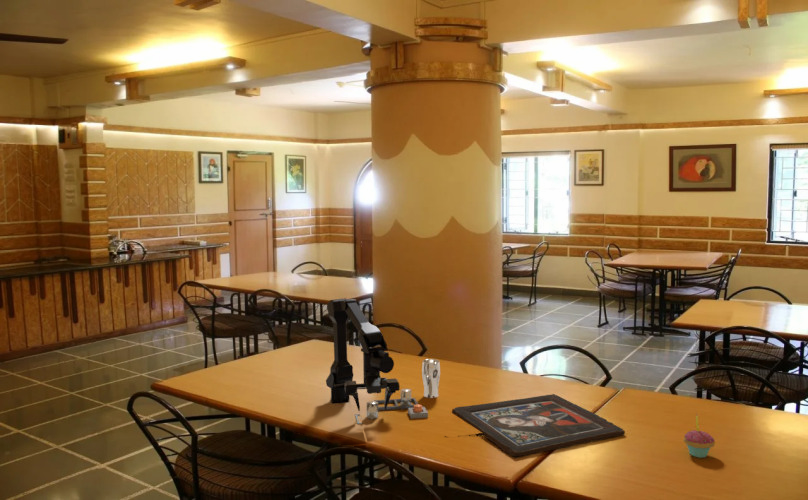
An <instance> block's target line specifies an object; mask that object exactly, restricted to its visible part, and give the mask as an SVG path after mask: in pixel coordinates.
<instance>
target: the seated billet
mask: <svg viewBox="0 0 808 500" xmlns="http://www.w3.org/2000/svg"><path fill="white" fill-rule="evenodd" d="M411 398H412V389H410V388H402V389H400V399H401V402H400V405H412V402H411Z"/></svg>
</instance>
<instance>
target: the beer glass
mask: <svg viewBox="0 0 808 500" xmlns="http://www.w3.org/2000/svg"><path fill="white" fill-rule="evenodd" d="M421 376H422V378H421V379H422V382H423V388H424V389H423V396H424V398H427V399H434V398H438V397H439V396H440V395H439V383H440V379H441V365H440V360H439V359H436V358H426V359H423V360H422V366H421Z"/></svg>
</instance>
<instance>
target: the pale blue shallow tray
mask: <svg viewBox="0 0 808 500" xmlns="http://www.w3.org/2000/svg"><path fill="white" fill-rule="evenodd" d="M354 414H355V413H354ZM354 416H355V419H356V420H355V421H356V423H357V425H363V424H364V423H363V422H360V421H359V418H358V416H361V414H360V413H356V414H355V415H354Z"/></svg>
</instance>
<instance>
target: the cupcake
mask: <svg viewBox="0 0 808 500" xmlns="http://www.w3.org/2000/svg"><path fill="white" fill-rule="evenodd" d="M695 414H696V416H695V428H696V429H694V430H690V431H687V432H686V433H685V434H684V435H683V436H684V438H683V442H684V443H685V444H686V446H687V449H688V452H689V455H691V456H692V457H695V458H703V459H704V458H706V457H707V456H708V454H709V451H710V449H711V448H714V447H715V445H716V441H715V438H714V437H713V436H712V435H711V434H709V433H708V432H705V431H702V430H699V429H700V428H699V416H698V413H695Z"/></svg>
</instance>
